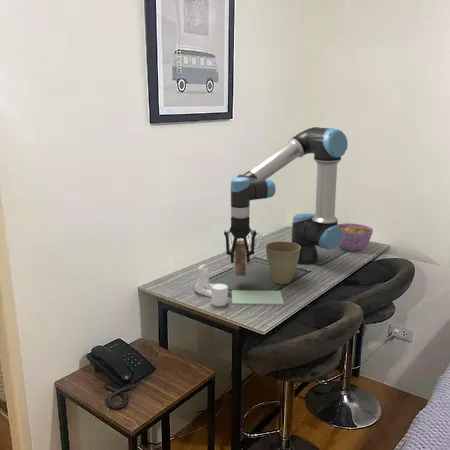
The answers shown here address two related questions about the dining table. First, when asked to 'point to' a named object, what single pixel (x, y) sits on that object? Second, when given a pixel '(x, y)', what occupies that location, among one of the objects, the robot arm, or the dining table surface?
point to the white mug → (219, 294)
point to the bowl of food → (355, 236)
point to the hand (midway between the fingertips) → (240, 269)
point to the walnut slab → (240, 258)
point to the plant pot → (282, 260)
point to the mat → (257, 297)
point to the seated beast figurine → (203, 281)
